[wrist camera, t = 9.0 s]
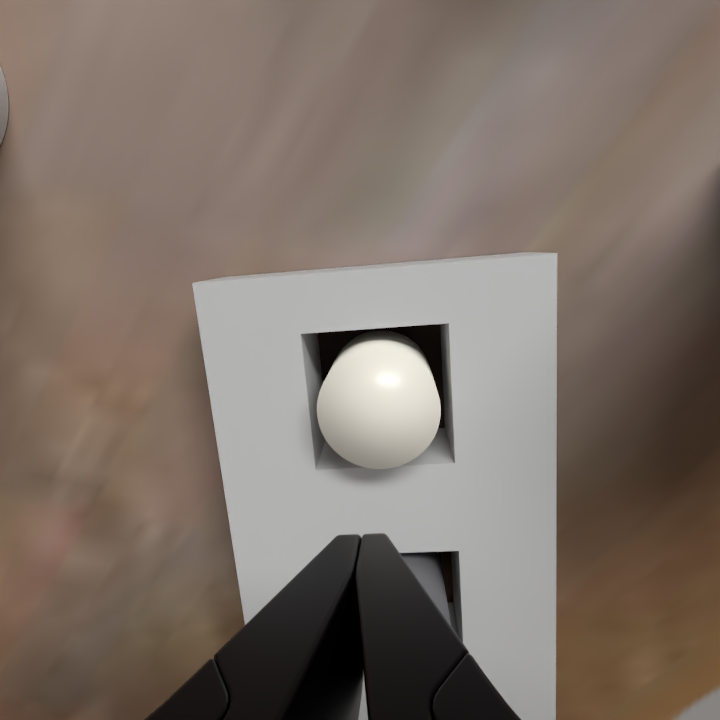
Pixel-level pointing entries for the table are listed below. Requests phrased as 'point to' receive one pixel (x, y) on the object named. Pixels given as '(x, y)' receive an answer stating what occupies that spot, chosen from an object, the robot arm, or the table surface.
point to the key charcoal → (430, 577)
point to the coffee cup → (3, 106)
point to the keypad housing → (424, 473)
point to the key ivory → (379, 401)
